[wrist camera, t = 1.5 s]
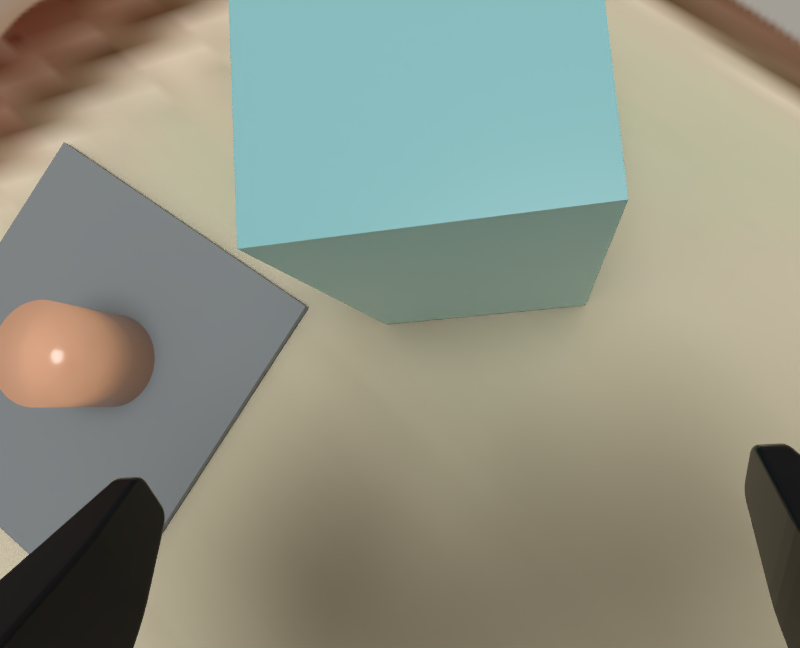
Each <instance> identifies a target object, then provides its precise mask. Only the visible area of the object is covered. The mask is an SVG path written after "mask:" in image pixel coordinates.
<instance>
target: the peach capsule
mask: <svg viewBox="0 0 800 648" xmlns="http://www.w3.org/2000/svg"><path fill="white" fill-rule="evenodd" d="M154 362H155V354H154V347H153V343H152V340H151V338H150V336H149V334H148V333H147V331H146V330H145V328H144V327H143V326H142V325H141V324H139V323H138V322H137V321H135V320H134V319H131V318H129V317H126V316H122V315H117V314H112V313H107V312H103V311H98V310H93V309H88V308H84V307H79V306H74V305H69V304H65V303H60V302H55V301H50V300H35V301H30V302H27V303H25V304H23V305H21V306H19V307H18V308H16V309H15V310H14V311H12V312H11V313H10V314H9V315H8V316H7V317H6V319H5V320H4V321H3V323H2V324H1V326H0V390H1V391H2V392H3V394H4V395H5V396H6V397H7V398H8V399H10V400H11V401H13V402H14V403H16V404H18V405H21V406H24V407H30V408H48V407H118V406H122V405H125V404H127V403H129V402H131V401H132V400H134V399H135V398H136V397H138V396H139V395H140V394H141V393H142V392H143V390H144V389H145V388H146V386H147V384H148V383H149V381H150V378H151V376H152V373H153V369H154Z"/></svg>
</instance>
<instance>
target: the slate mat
mask: <svg viewBox="0 0 800 648" xmlns="http://www.w3.org/2000/svg"><path fill="white" fill-rule="evenodd" d="M35 300H50V301H55V302H60V303H65V304H69V305H74V306H79V307H84V308H88V309H93V310H98V311H103V312H107V313H112V314H117V315H122V316H126V317H129V318H131V319H134V320H135V321H137V322H138V323H139V324H141V325H142V326H143V327H144V328H145V330H146V331H147V333H148V334H149V336H150V338H151V340H152V343H153V347H154V354H155V362H154V369H153V373H152V376H151V378H150V381H149V383H148V384H147V386H146V388H145V389H144V390H143V392H142V393H141V394H140V395H139V396H138V397H136V398H135V399H134V400H132V401H131V402H129V403H127V404H125V405H122V406H118V407H48V408H30V407H24V406H21V405H18V404H16V403H14V402H13V401H11V400H10V399H8V398H7V397H6V396H5V395H4V394H3V392H2V391H1V390H0V528H1V529H2V530H3V531H5V532H6V533H7V534H8V535H9V536H10V537H11V538H12V539H13V540H14V541H15V542H17V543H18V544H19V545H20V546H21V547H22V548H23V549H24V550H25V551H26V552H27V553H29V554H30V553H31V552H33V551H34V550H35V549H36V548H37V547H38V546H39V545H41V544H42V543H43V542H44V541H45V540H46V539H47V538H48V537H50V536H51V535H52V534H53V533H54V532H55V531H56V530H58V529H59V528H60V527H61V526H62V525H63V524H64V523H66V522H67V521H68V520H69V519H70V518H71V517H72V516H73V515H75V514H76V513H77V512H78V511H79V510H80V509H81V508H83V507H84V506H85V505H86V504H87V503H88V502H89V501H91V500H92V499H93V498H94V497H95V496H96V495H97V494H98V493H100V492H101V491H102V490H103V489H104V488H105V487H106V486H108V485H109V484H110V483H111V482H112V481H114V480H116V479H118V478H128V477H140V478H142V479H144V480H145V481H146V482H147V484H148V485H149V487H150V489H151V490H152V492H153V493H154V495H155V496H156V498H157V499H158V501H159V502H160V504H161V505H162V507H163V510H164V515H165V521H164V527H163V531H164V530H165V528H166V526H167V525H168V523H169V522H170V520H171V519H172V517H173V516H174V514H175V513H176V511H177V509H178V508H179V506H180V505H181V503H182V502H183V500H184V499H185V497H186V496H187V494H188V493H189V491H190V489H191V488H192V486H193V485H194V483H195V482H196V480H197V479H198V477H199V476H200V474H201V472H202V471H203V469H204V468H205V466H206V465H207V463H208V462H209V460H210V459H211V457H212V456H213V454H214V452H215V451H216V449H217V448H218V446H219V445H220V443H221V442H222V440H223V439H224V437H225V435H226V434H227V432H228V431H229V429H230V428H231V426H232V425H233V423H234V422H235V420H236V419H237V417H238V415H239V414H240V412H241V411H242V409H243V408H244V406H245V405H246V403H247V402H248V400H249V398H250V397H251V395H252V394H253V392H254V391H255V389H256V388H257V386H258V385H259V383H260V381H261V380H262V378H263V377H264V375H265V374H266V372H267V371H268V369H269V368H270V366H271V365H272V363H273V361H274V360H275V358H276V357H277V355H278V354H279V352H280V351H281V349H282V348H283V346H284V344H285V343H286V341H287V340H288V338H289V337H290V335H291V334H292V332H293V331H294V329H295V328H296V326H297V324H298V323H299V321H300V320H301V318H302V317H303V315H304V314H305V312H306V311H307V309H308V307H307V306H305V305H304V304H302V303H301V302H300V301H298V300H297V299H295V298H294V297H292V296H291V295H289V294H288V293H286V292H285V291H283V290H282V289H280V288H279V287H277V286H276V285H274V284H273V283H272V282H270V281H269V280H267V279H266V278H264V277H263V276H261V275H260V274H258V273H257V272H255V271H254V270H252V269H251V268H249V267H248V266H247V265H245V264H244V263H242V262H241V261H239V260H238V259H236V258H235V257H233V256H232V255H230V254H229V253H227V252H226V251H224V250H223V249H221V248H220V247H219V246H217V245H216V244H214V243H213V242H211V241H210V240H208V239H207V238H205V237H204V236H202V235H201V234H199V233H198V232H196V231H195V230H193V229H192V228H191V227H189V226H188V225H186V224H185V223H183V222H182V221H180V220H179V219H177V218H176V217H174V216H173V215H171V214H170V213H168V212H167V211H165V210H164V209H163V208H161V207H160V206H158V205H157V204H155V203H154V202H152V201H151V200H149V199H148V198H146V197H145V196H143V195H142V194H140V193H139V192H137V191H136V190H135V189H133V188H132V187H130V186H129V185H127V184H126V183H124V182H123V181H121V180H120V179H118V178H117V177H115V176H114V175H112V174H111V173H109V172H108V171H107V170H105V169H104V168H102V167H101V166H99V165H98V164H96V163H95V162H93V161H92V160H90V159H89V158H87V157H86V156H84V155H83V154H82V153H80V152H79V151H77V150H76V149H74V148H73V147H71V146H70V145H68V144H66V143H63V145H62V146H61V148H60V149H59V151H58V153H57V154H56V156H55V157H54V159H53V160H52V162H51V164H50V165H49V167H48V168H47V170H46V171H45V173H44V175H43V176H42V178H41V179H40V181H39V182H38V184H37V186H36V187H35V189H34V190H33V192H32V193H31V195H30V197H29V198H28V200H27V201H26V203H25V204H24V206H23V208H22V209H21V211H20V212H19V214H18V215H17V217H16V218H15V220H14V222H13V223H12V225H11V226H10V228H9V229H8V231H7V233H6V234H5V236H4V237H3V239H2V240H1V242H0V326H1V324H2V323H3V321H4V320H5V319H6V317H7V316H8V315H9V314H10V313H11V312H12V311H14V310H15V309H16V308H18V307H19V306H21V305H23V304H25V303H27V302H30V301H35ZM162 533H163V532H162Z"/></svg>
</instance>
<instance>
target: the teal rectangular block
mask: <svg viewBox="0 0 800 648" xmlns="http://www.w3.org/2000/svg"><path fill="white" fill-rule="evenodd" d="M229 23H230V52H231V81H232V110H233V138H234V167H235V196H236V225H237V249H239V250H241V251H243V252H245V253H247V254H249V255H250V256H252V257H254V258H256V259H258V260H260V261H262V262H264V263H266V264H268V265H270V266H272V267H274V268H276V269H278V270H280V271H282V272H284V273H286V274H288V275H290V276H292V277H294V278H296V279H298V280H300V281H302V282H304V283H306V284H308V285H310V286H312V287H314V288H316V289H318V290H320V291H322V292H324V293H326V294H328V295H329V296H331V297H333V298H335V299H337V300H339V301H341V302H343V303H345V304H347V305H349V306H351V307H353V308H355V309H357V310H359V311H361V312H363V313H365V314H367V315H369V316H371V317H373V318H375V319H377V320H379V321H381V322H383V323H385V324H396V323H406V322H416V321H427V320H437V319H448V318H458V317H468V316H479V315H489V314H499V313H510V312H520V311H530V310H541V309H551V308H562V307H572V306H582V305H586V302H587V300H588V298H589V295H590V293H591V290H592V288H593V285H594V283H595V280H596V278H597V275H598V273H599V270H600V268H601V265H602V263H603V260H604V258H605V256H606V253H607V251H608V248H609V246H610V243H611V241H612V238H613V236H614V233H615V231H616V228H617V226H618V223H619V221H620V219H621V216H622V214H623V211H624V209H625V206H626V204H627V201H628V193H627V185H626V176H625V168H624V160H623V151H622V143H621V134H620V126H619V117H618V109H617V100H616V92H615V83H614V75H613V66H612V58H611V49H610V41H609V32H608V24H607V16H606V7H605V0H229Z"/></svg>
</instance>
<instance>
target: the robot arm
mask: <svg viewBox="0 0 800 648" xmlns="http://www.w3.org/2000/svg"><path fill="white" fill-rule="evenodd" d="M745 496H746V502H747V506H748V510H749V514H750V518H751V522H752V526H753V529H754V533H755V537H756V541H757V545H758V549H759V553H760V557H761V561H762V565H763V569H764V573H765V577H766V581H767V584H768V588H769V592H770V596H771V600H772V603H773V607H774V610H775V613H776V616H777V619H778V622H779V625H780V628H781V630H782V633H783V636H784V638H785V641H786V643H787V646H788V648H800V454H799V453H798V452H796V451H795V450H794V449H793V448H792V447H790V446H788V445H786V444H762V445H755V446H754V447H753V448H752V449H751V452H750V457H749V463H748V468H747V474H746V480H745ZM164 521H165V515H164V510H163V507H162V505H161V504H160V502H159V501H158V499H157V498H156V496H155V495H154V493H153V492H152V490H151V489H150V487H149V485H148V484H147V482H146V481H145V480H144V479H142V478H140V477H128V478H118V479H116V480H114V481H112V482H111V483H110V484H109V485H108V486H106V487H105V488H104V489H103V490H102V491H101V492H100V493H98V494H97V495H96V496H95V497H94V498H93V499H92V500H91V501H89V502H88V503H87V504H86V505H85V506H84V507H83V508H81V509H80V510H79V511H78V512H77V513H76V514H75V515H73V516H72V517H71V518H70V519H69V520H68V521H67V522H66V523H64V524H63V525H62V526H61V527H60V528H59V529H58V530H56V531H55V532H54V533H53V534H52V535H51V536H50V537H48V538H47V539H46V540H45V541H44V542H43V543H42V544H41V545H39V546H38V547H37V548H36V549H35V550H34V551H33V552H31V553H30V554H29V555H28V556H27V557H26V558H25V559H23V560H22V561H21V562H20V563H19V564H18V565H17V566H16V567H14V568H13V569H12V570H11V571H10V572H9V573H8V574H6V575H5V576H4V577H3V578H2V579H1V580H0V648H133V647H134V644H135V641H136V638H137V635H138V632H139V629H140V626H141V622H142V619H143V616H144V612H145V608H146V604H147V600H148V596H149V591H150V586H151V582H152V577H153V573H154V568H155V564H156V559H157V554H158V550H159V545H160V541H161V536H162V532H163V527H164Z"/></svg>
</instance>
